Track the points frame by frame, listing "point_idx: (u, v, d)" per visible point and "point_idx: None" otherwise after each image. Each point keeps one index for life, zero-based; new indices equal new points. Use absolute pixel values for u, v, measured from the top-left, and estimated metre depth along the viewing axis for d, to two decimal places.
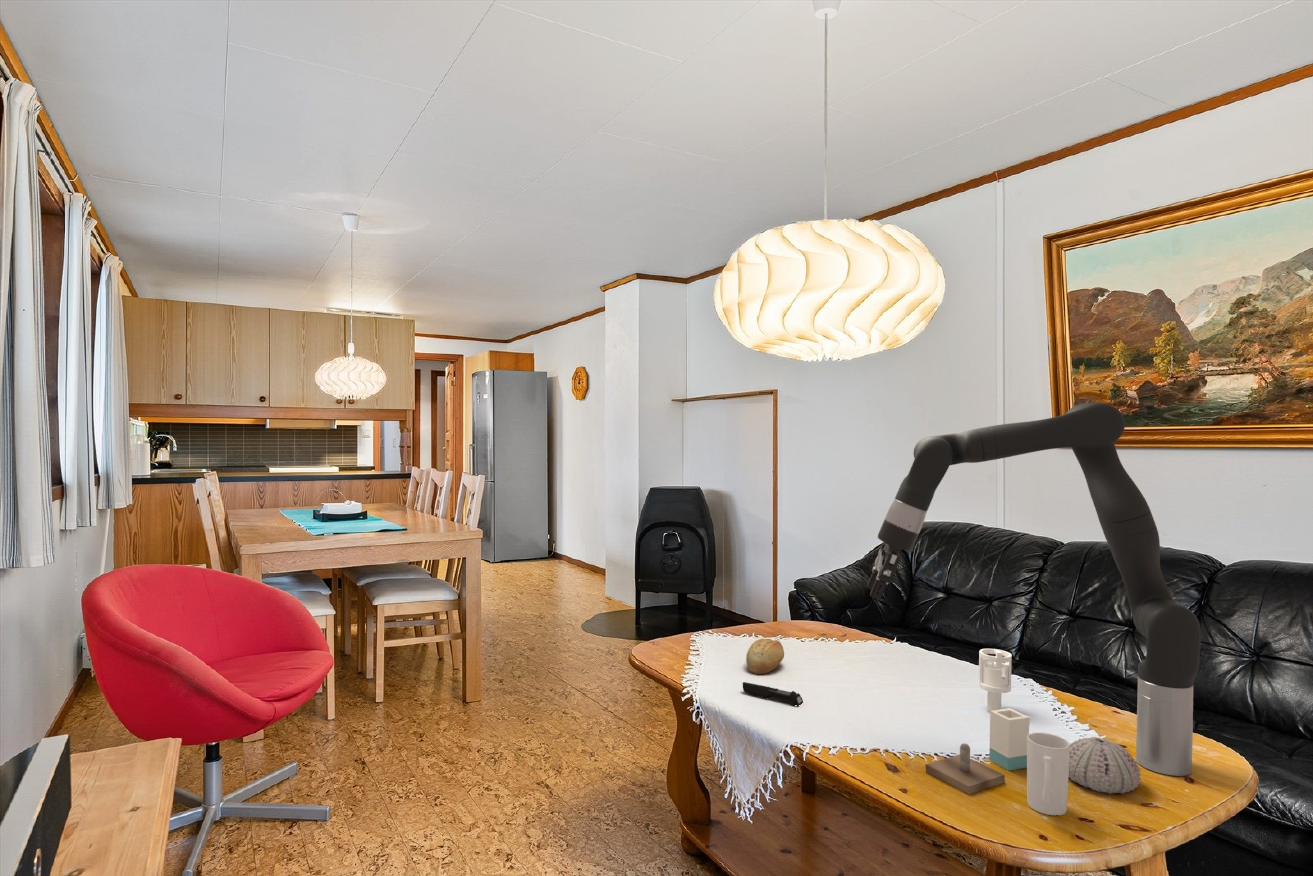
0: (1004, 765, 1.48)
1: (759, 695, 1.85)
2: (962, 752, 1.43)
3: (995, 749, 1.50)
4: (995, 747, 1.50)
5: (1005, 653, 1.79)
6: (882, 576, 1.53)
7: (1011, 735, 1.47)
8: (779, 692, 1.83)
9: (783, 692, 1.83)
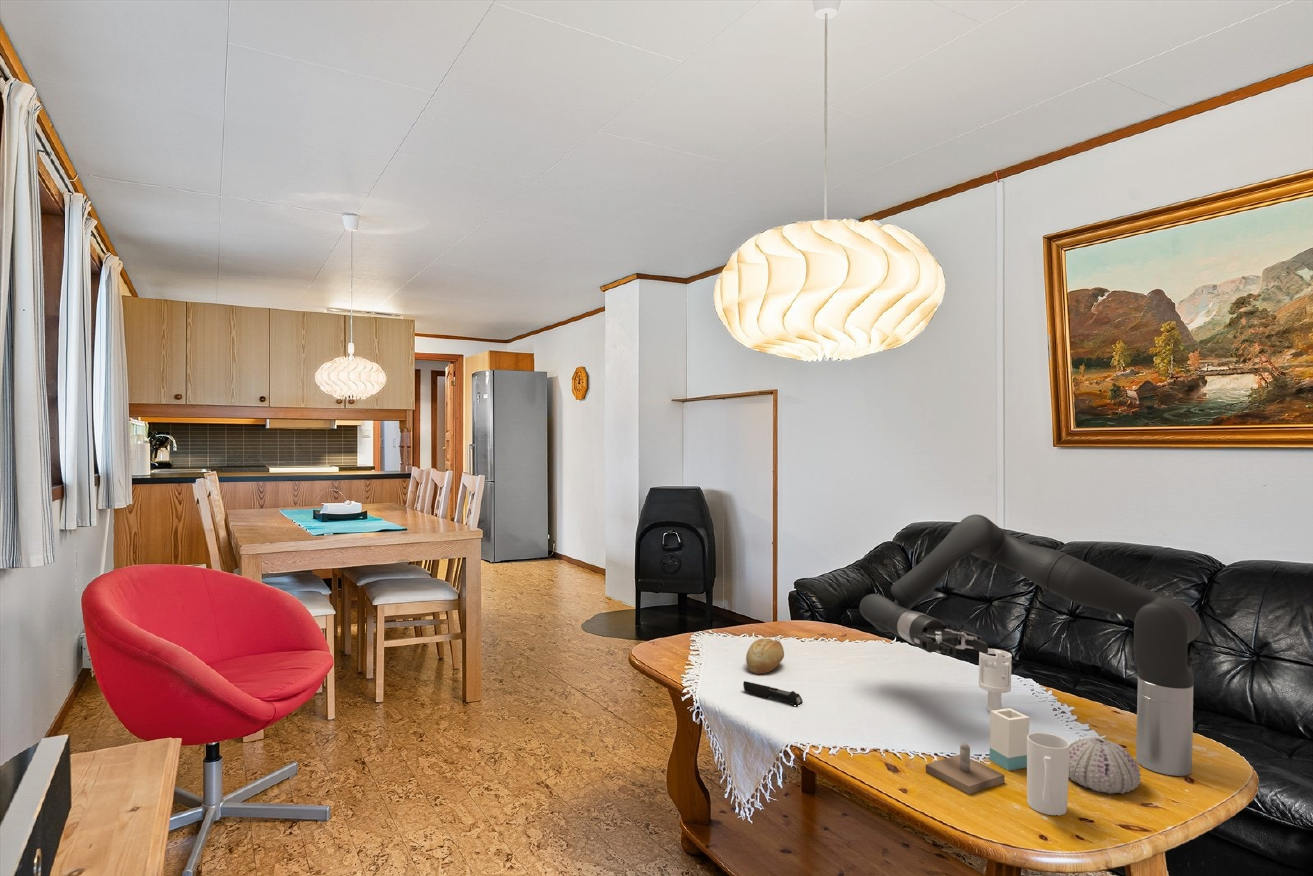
0: (1004, 765, 1.48)
1: (759, 694, 1.85)
2: (962, 752, 1.43)
3: (995, 749, 1.50)
4: (995, 747, 1.50)
5: (1005, 653, 1.79)
6: (927, 649, 1.63)
7: (1011, 735, 1.47)
8: (779, 692, 1.83)
9: (783, 692, 1.83)
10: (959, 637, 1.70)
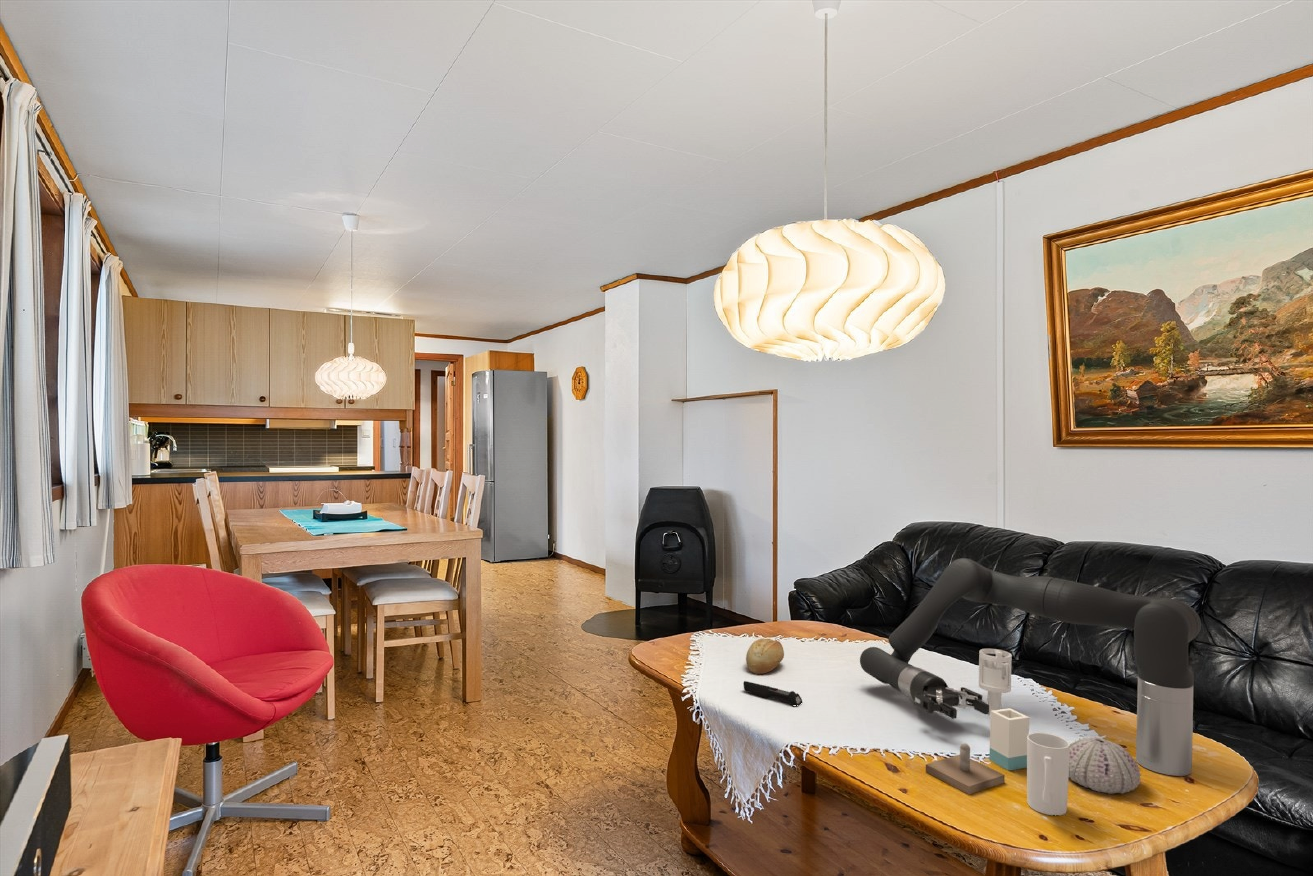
0: (1004, 765, 1.48)
1: (759, 694, 1.85)
2: (962, 752, 1.43)
3: (995, 749, 1.50)
4: (995, 747, 1.50)
5: (1005, 653, 1.79)
6: (928, 709, 1.63)
7: (1011, 735, 1.47)
8: (778, 692, 1.83)
9: (782, 692, 1.83)
10: (960, 695, 1.70)
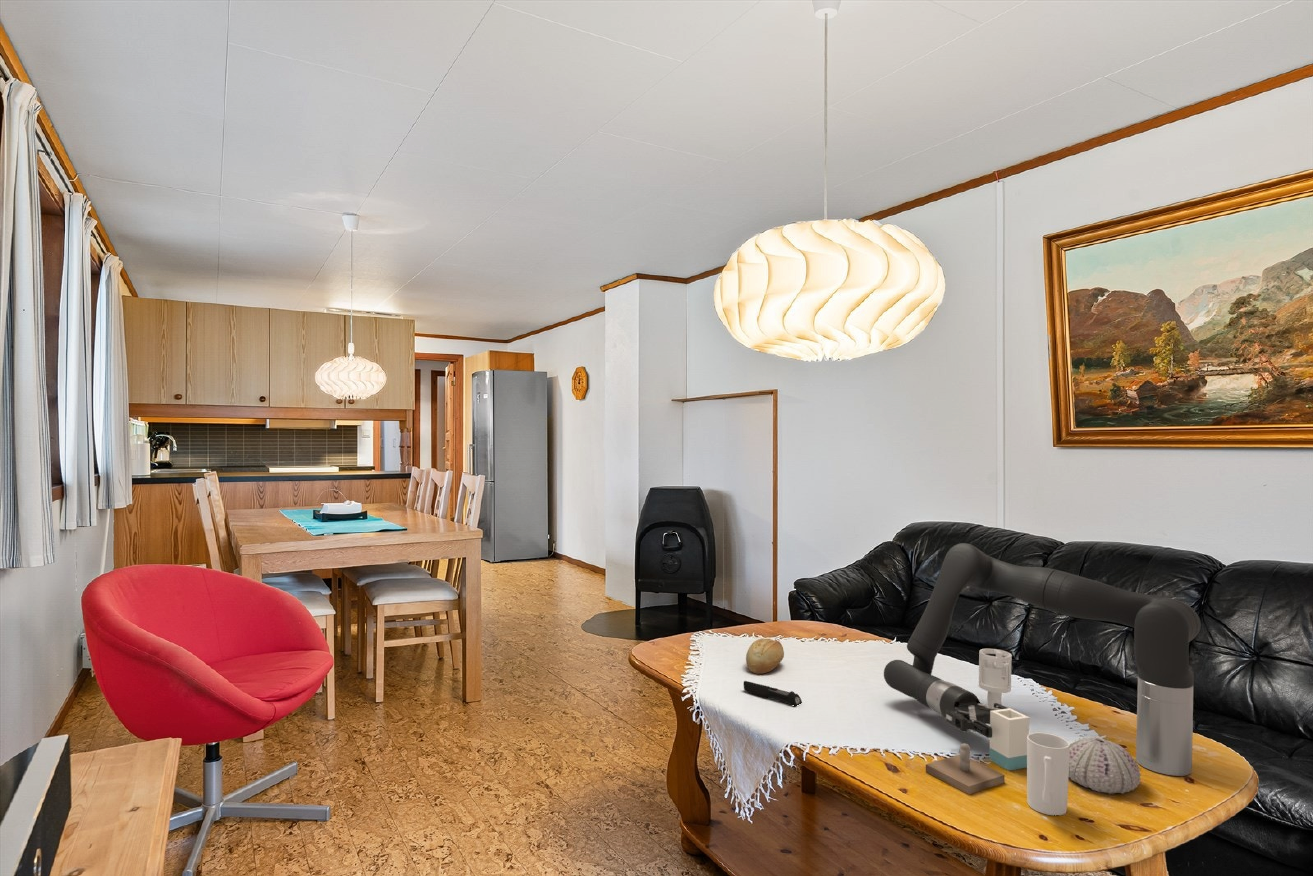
0: (1004, 765, 1.48)
1: (758, 694, 1.85)
2: (962, 752, 1.43)
3: (995, 749, 1.50)
4: (995, 747, 1.50)
5: (1005, 653, 1.79)
6: (960, 727, 1.53)
7: (1011, 735, 1.47)
8: (778, 692, 1.83)
9: (782, 692, 1.83)
10: None
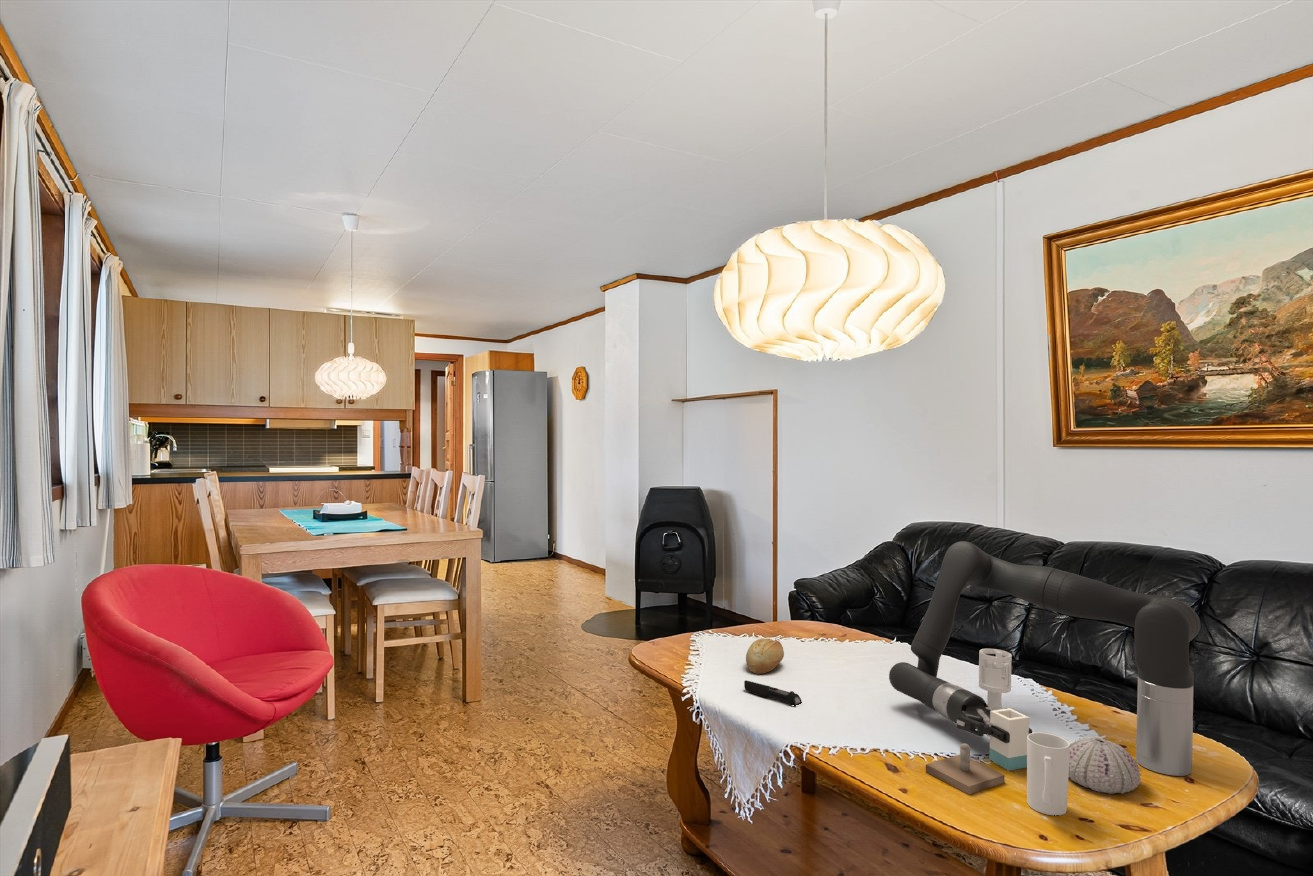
0: (1004, 765, 1.48)
1: (759, 694, 1.85)
2: (962, 752, 1.43)
3: (995, 749, 1.50)
4: (995, 747, 1.50)
5: (1005, 653, 1.79)
6: (977, 732, 1.51)
7: (1011, 735, 1.47)
8: (778, 692, 1.83)
9: (782, 692, 1.83)
10: None
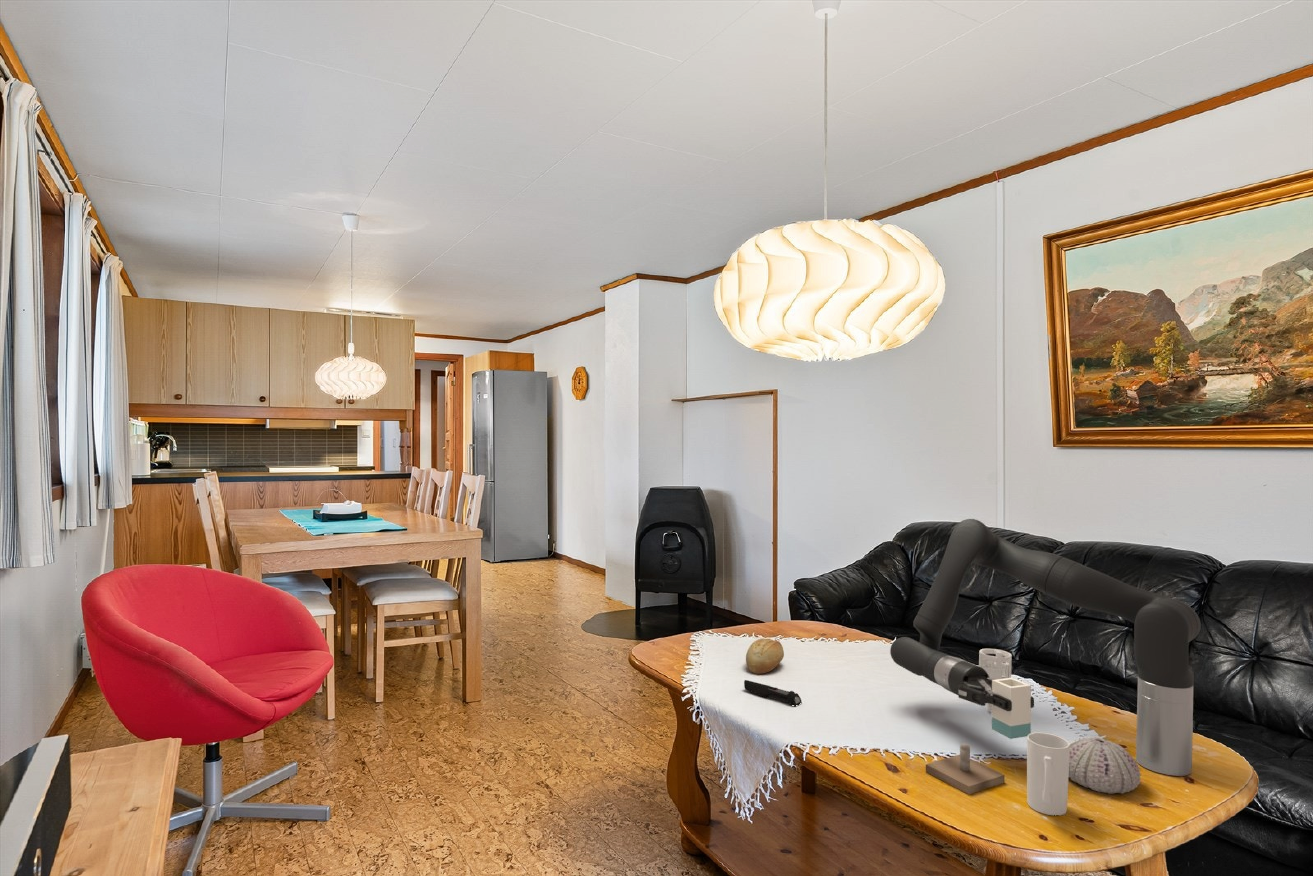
0: (1007, 734, 1.47)
1: (759, 693, 1.86)
2: (962, 752, 1.43)
3: (997, 718, 1.50)
4: (997, 716, 1.50)
5: (1005, 653, 1.79)
6: (979, 702, 1.50)
7: (1013, 703, 1.47)
8: (778, 691, 1.83)
9: (782, 691, 1.83)
10: None
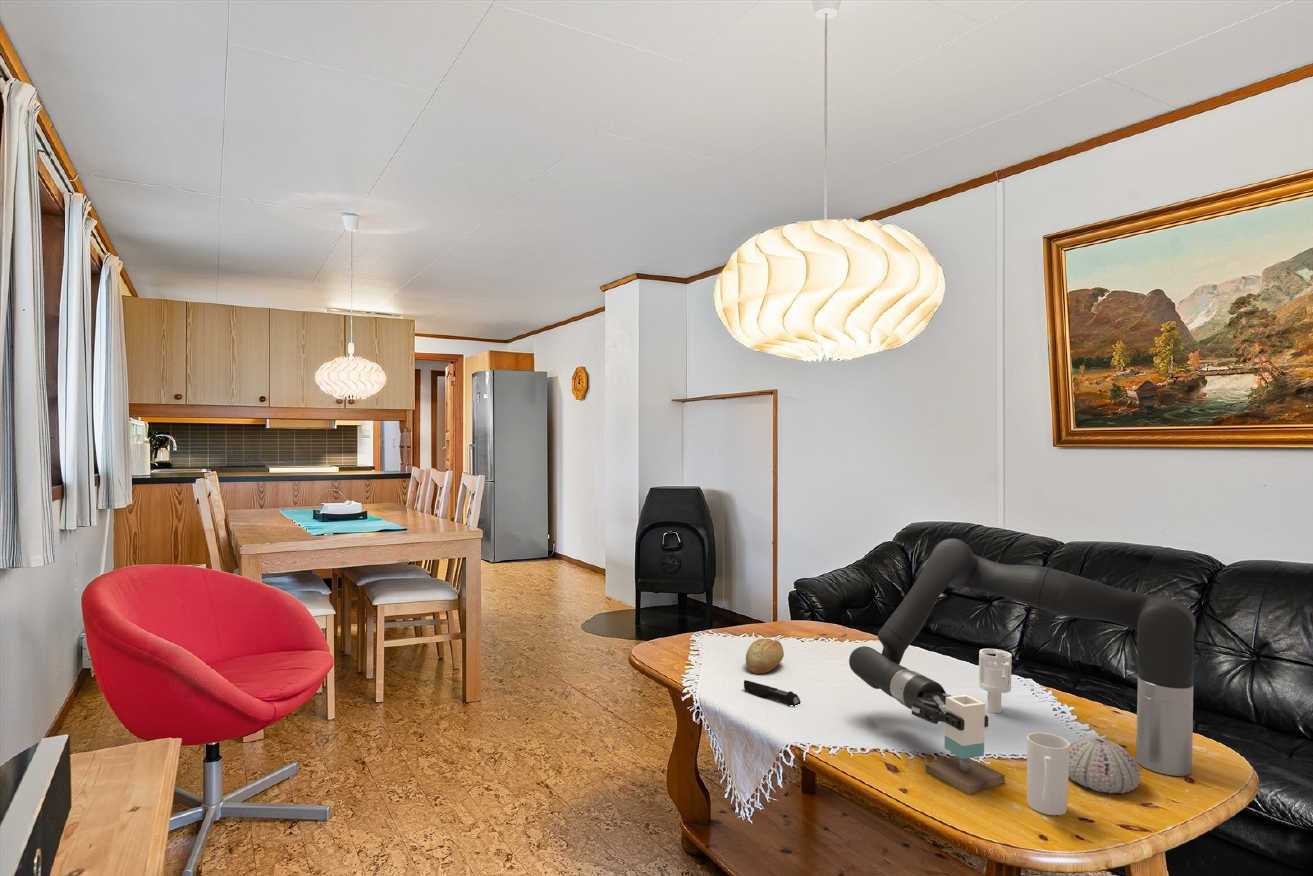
0: (959, 753, 1.42)
1: (758, 694, 1.86)
2: None
3: (950, 737, 1.44)
4: (950, 735, 1.44)
5: (1005, 653, 1.79)
6: (931, 719, 1.45)
7: (966, 722, 1.41)
8: (777, 692, 1.83)
9: (781, 692, 1.83)
10: None
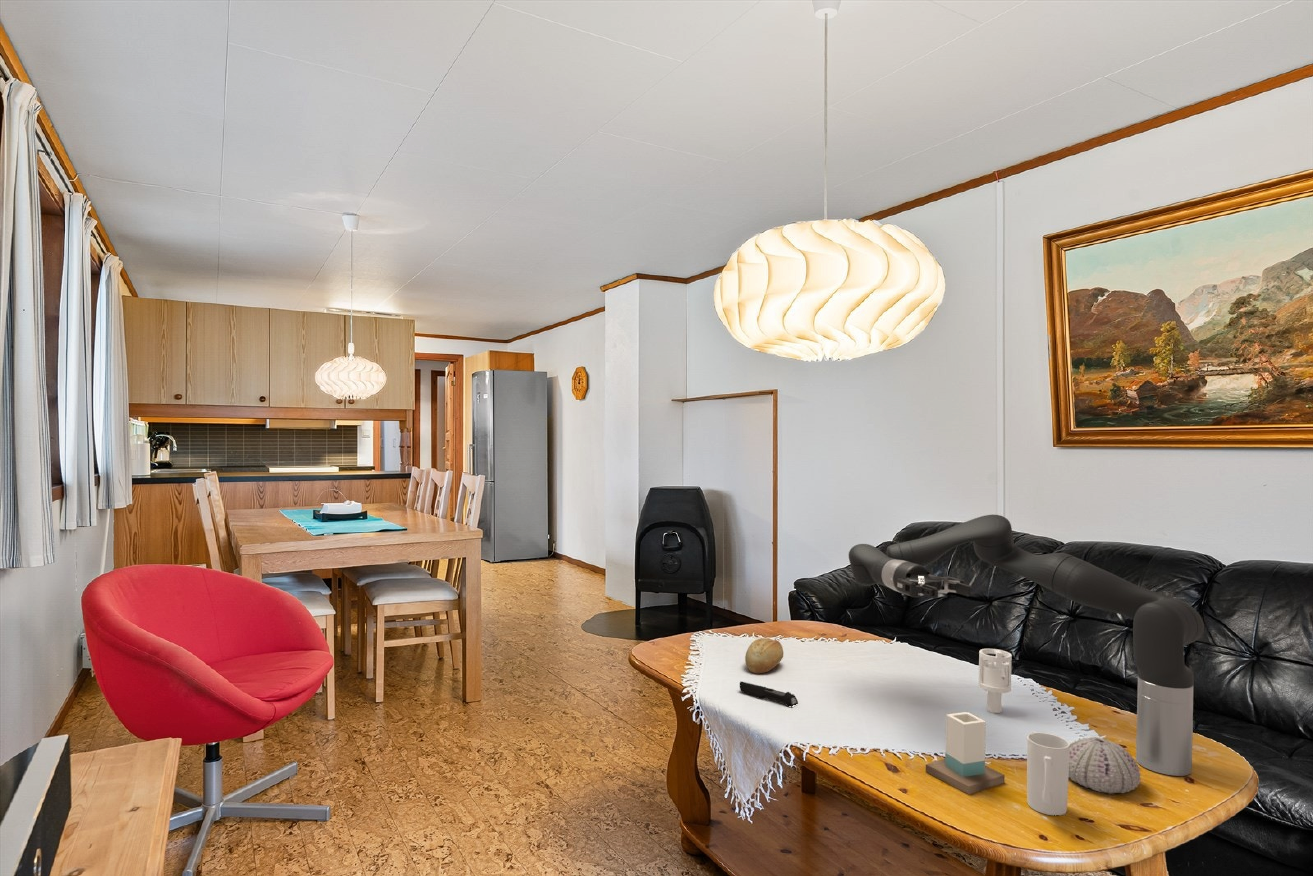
0: (959, 771, 1.42)
1: (755, 695, 1.85)
2: None
3: (951, 754, 1.44)
4: (951, 752, 1.44)
5: (1005, 653, 1.79)
6: (909, 592, 1.63)
7: (967, 740, 1.41)
8: (774, 692, 1.83)
9: (778, 692, 1.82)
10: (942, 582, 1.71)
